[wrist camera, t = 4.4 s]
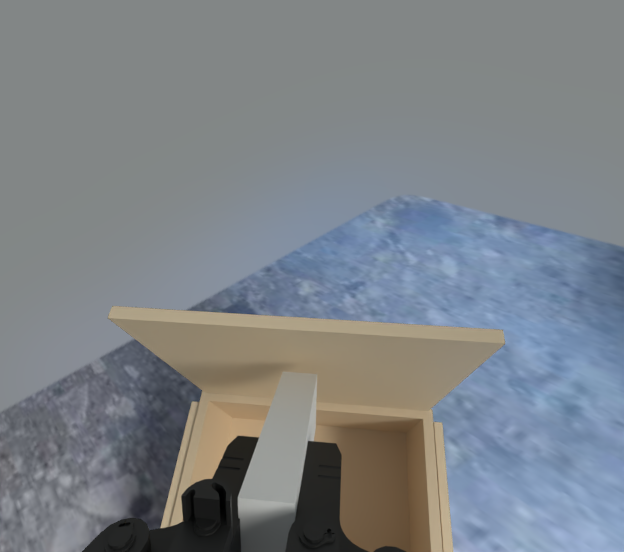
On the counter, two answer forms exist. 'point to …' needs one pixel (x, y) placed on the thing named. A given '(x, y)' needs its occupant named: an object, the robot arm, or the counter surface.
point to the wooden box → (354, 466)
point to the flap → (313, 354)
